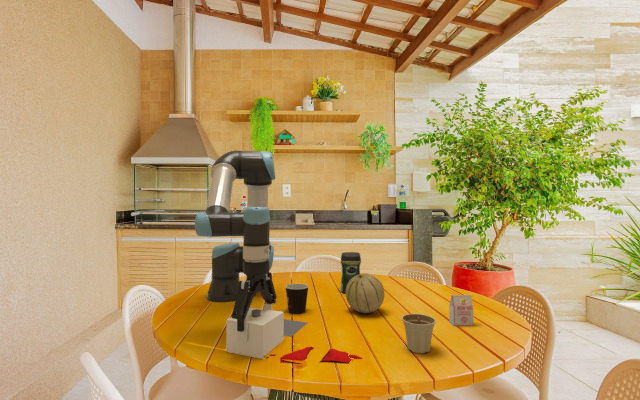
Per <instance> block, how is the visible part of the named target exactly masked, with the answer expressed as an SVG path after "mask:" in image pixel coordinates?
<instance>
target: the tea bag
mask: <svg viewBox="0 0 640 400" xmlns="http://www.w3.org/2000/svg"><path fill="white" fill-rule="evenodd" d="M472 300H473V299H472V295H471V294H461V295H459V294H451V296H450V301H449V306H448V307H449V315H448V316H449V318H448V320H449V323H450V325H452V326H453V327H474V304H473V301H472Z"/></svg>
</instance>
